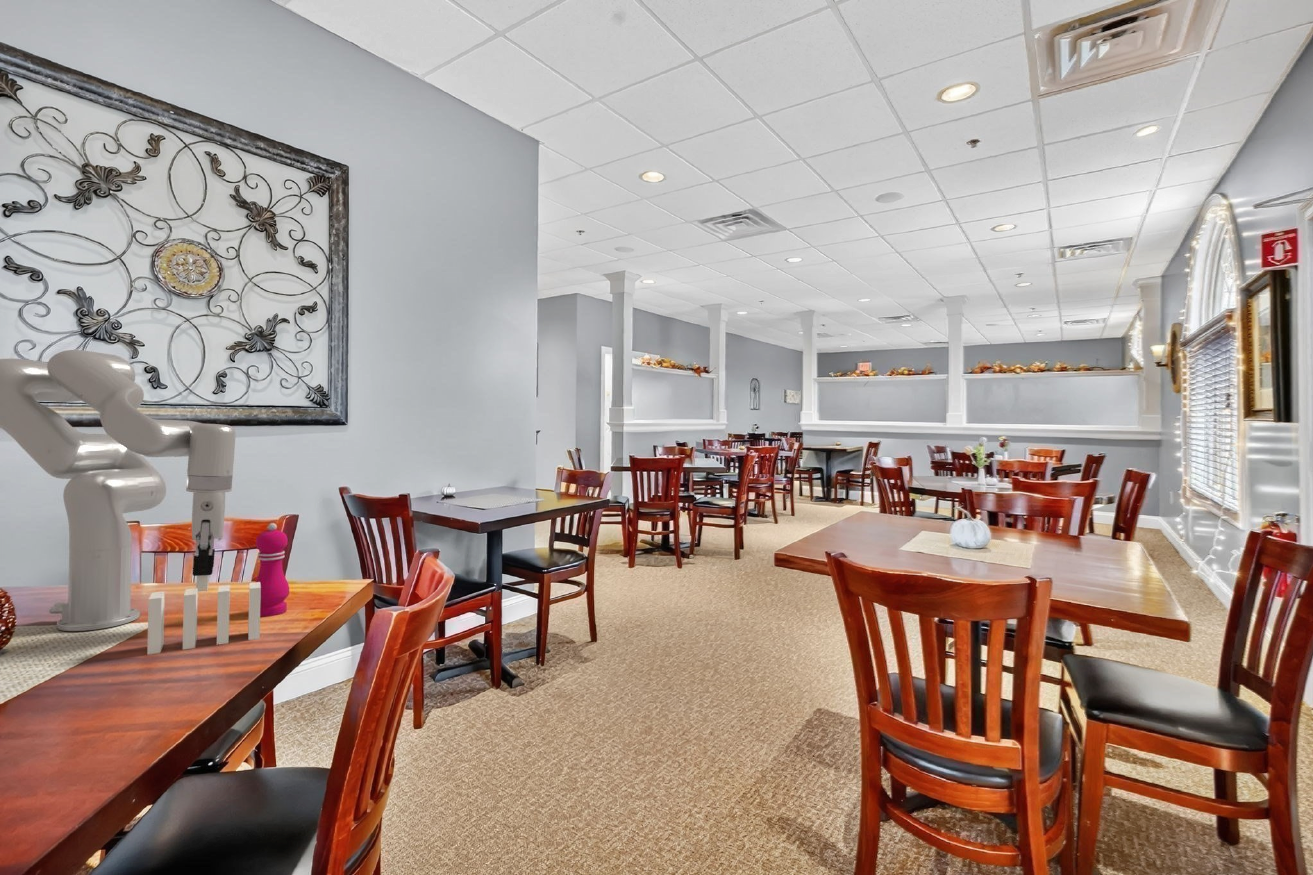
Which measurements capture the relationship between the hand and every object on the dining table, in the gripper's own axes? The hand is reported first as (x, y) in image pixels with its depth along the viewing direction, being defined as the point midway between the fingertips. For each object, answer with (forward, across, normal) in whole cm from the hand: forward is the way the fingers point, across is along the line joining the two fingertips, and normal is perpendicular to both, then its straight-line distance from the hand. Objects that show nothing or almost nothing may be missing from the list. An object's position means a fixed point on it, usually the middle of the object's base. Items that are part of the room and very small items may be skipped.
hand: (203, 570), depth 123 cm
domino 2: (+11, -12, +1) cm, 16 cm away
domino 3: (+11, -12, -4) cm, 17 cm away
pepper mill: (+11, +4, -12) cm, 17 cm away
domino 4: (+11, -12, -9) cm, 19 cm away
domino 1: (+11, -12, +6) cm, 17 cm away
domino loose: (+4, 0, 0) cm, 4 cm away
